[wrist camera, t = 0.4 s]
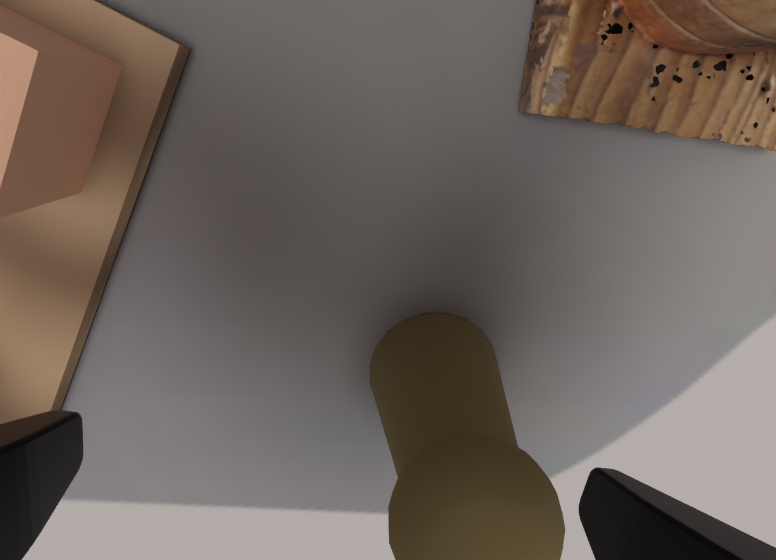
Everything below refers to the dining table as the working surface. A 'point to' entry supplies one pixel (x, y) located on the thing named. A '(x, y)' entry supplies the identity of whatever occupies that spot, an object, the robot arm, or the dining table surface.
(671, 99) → the bird sculpture
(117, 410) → the dining table surface
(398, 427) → the cork
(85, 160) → the cube
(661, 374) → the dining table surface
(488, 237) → the dining table surface
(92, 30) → the wooden base with cylinder
